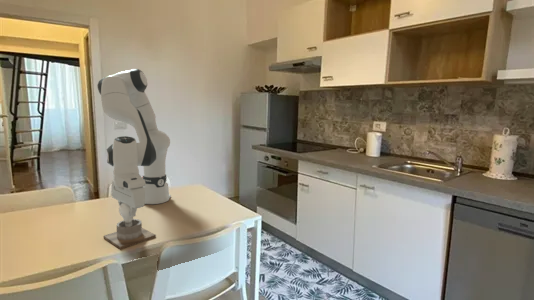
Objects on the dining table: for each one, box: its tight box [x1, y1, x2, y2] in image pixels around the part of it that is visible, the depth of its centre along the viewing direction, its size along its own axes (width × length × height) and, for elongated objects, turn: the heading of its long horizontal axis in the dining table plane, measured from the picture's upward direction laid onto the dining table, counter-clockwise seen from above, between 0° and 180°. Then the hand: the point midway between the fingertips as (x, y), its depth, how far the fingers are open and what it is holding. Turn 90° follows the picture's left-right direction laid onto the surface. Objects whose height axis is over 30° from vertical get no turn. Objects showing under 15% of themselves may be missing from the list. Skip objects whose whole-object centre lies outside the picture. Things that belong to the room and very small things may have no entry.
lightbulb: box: [118, 203, 138, 227], centre depth 118 cm, size 6×6×11 cm
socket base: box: [103, 218, 157, 250], centre depth 119 cm, size 14×14×6 cm
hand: (127, 213), depth 118 cm, fingers closed on lightbulb, 6 cm apart
